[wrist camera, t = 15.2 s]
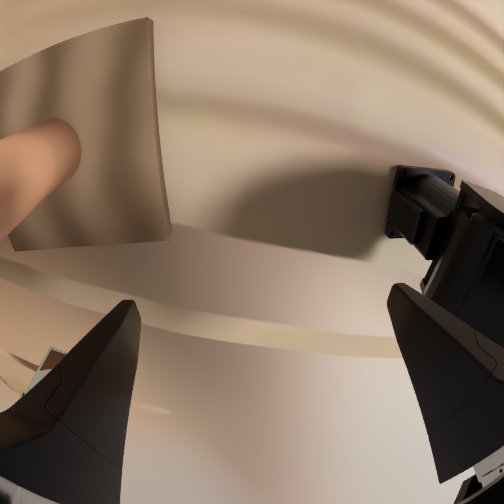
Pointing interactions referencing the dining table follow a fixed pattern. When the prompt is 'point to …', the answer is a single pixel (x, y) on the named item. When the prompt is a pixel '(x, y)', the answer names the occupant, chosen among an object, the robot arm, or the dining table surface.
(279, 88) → the dining table surface
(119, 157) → the tan flat square block
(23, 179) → the terracotta cylinder
